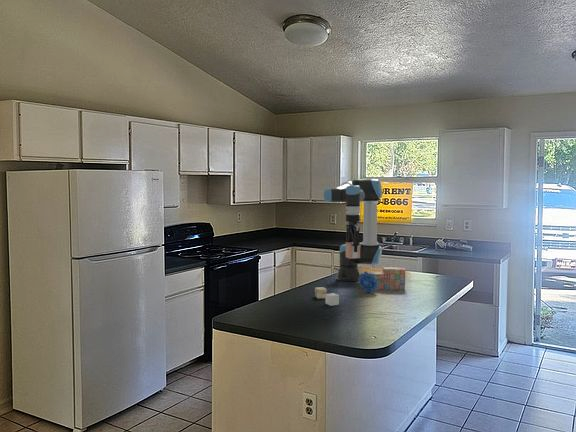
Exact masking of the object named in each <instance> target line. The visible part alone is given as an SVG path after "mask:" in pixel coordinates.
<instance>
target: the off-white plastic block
mask: <svg viewBox="0 0 576 432" xmlns="http://www.w3.org/2000/svg"><path fill="white" fill-rule="evenodd" d="M339 304H340V295H339V294H338V293H333V292H332V293H327V294H326V298H325V305H328V306H337V305H339Z"/></svg>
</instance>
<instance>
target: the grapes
mask: <svg viewBox="0 0 576 432" xmlns="http://www.w3.org/2000/svg"><path fill="white" fill-rule="evenodd" d="M368 272H369V271H364V272H363V273H359V274H360V278H359V279H358V283H359V286H360V288H361V289H362V290H364V292H366V293H375V292H376V290H378V289H377V288H378V285H377V284H376V283H377V279H376V278H374V275H373V274H371V273H370V274H369V273H368Z"/></svg>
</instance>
